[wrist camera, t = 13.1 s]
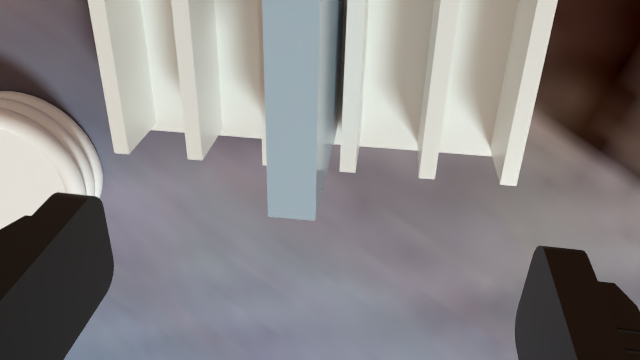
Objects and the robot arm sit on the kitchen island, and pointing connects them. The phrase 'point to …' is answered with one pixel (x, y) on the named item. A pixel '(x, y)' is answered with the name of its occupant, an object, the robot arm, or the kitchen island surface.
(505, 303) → the kitchen island surface
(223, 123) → the dish rack
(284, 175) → the grey board
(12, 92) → the coaster
